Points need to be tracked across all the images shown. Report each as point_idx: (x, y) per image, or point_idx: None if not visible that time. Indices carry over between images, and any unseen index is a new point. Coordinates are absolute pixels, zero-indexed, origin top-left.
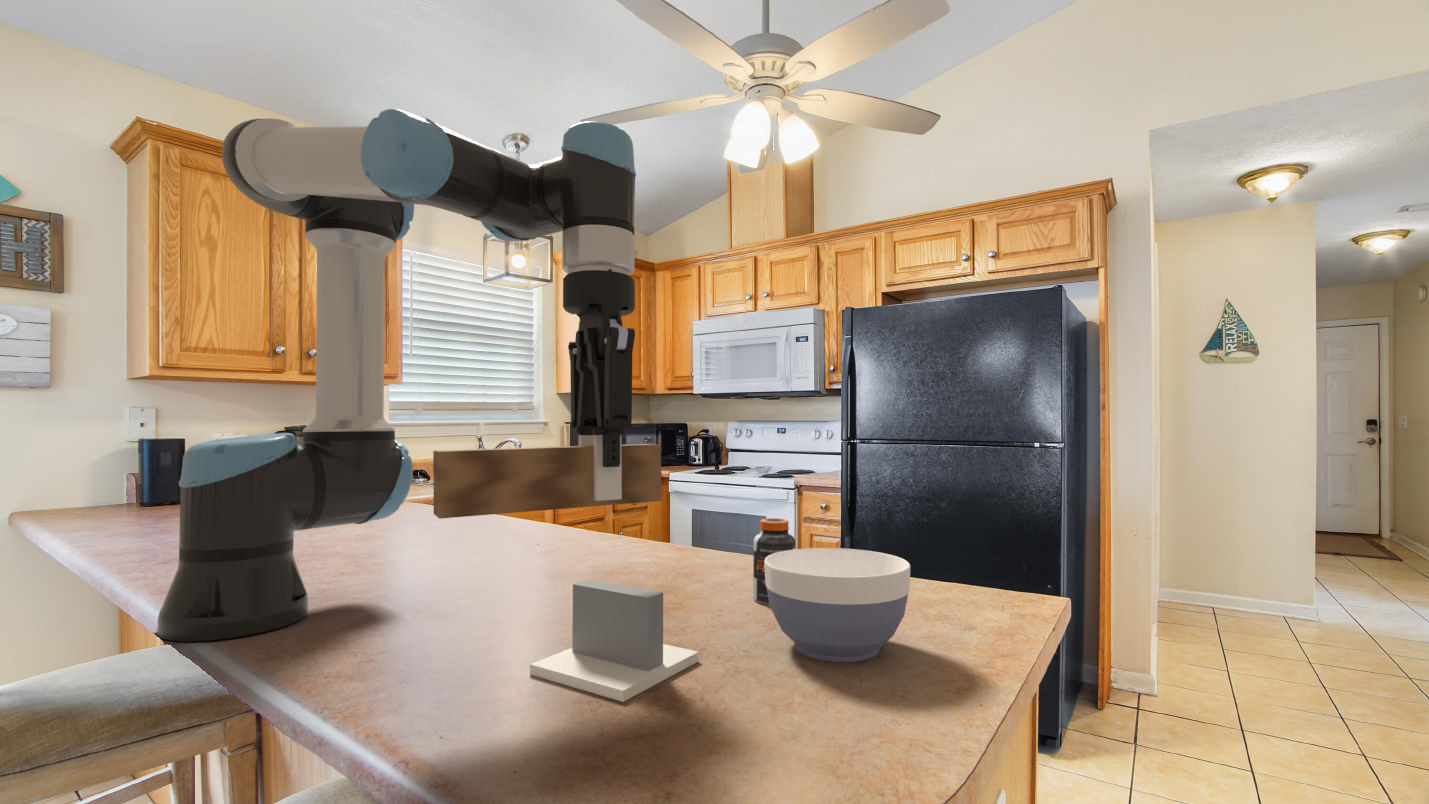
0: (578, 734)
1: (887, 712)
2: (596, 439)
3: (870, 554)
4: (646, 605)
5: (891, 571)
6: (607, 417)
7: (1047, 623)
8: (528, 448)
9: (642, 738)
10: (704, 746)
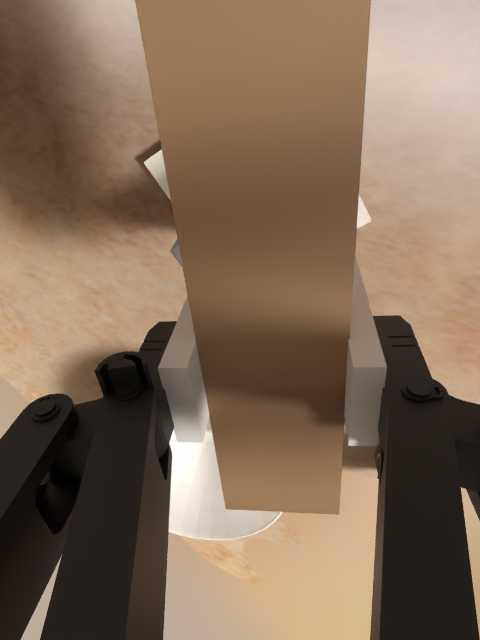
0: (75, 80)
1: (62, 359)
2: (162, 359)
3: (230, 534)
4: (175, 244)
5: (201, 519)
6: (21, 425)
7: (197, 550)
8: (192, 60)
9: (52, 148)
10: (26, 198)
